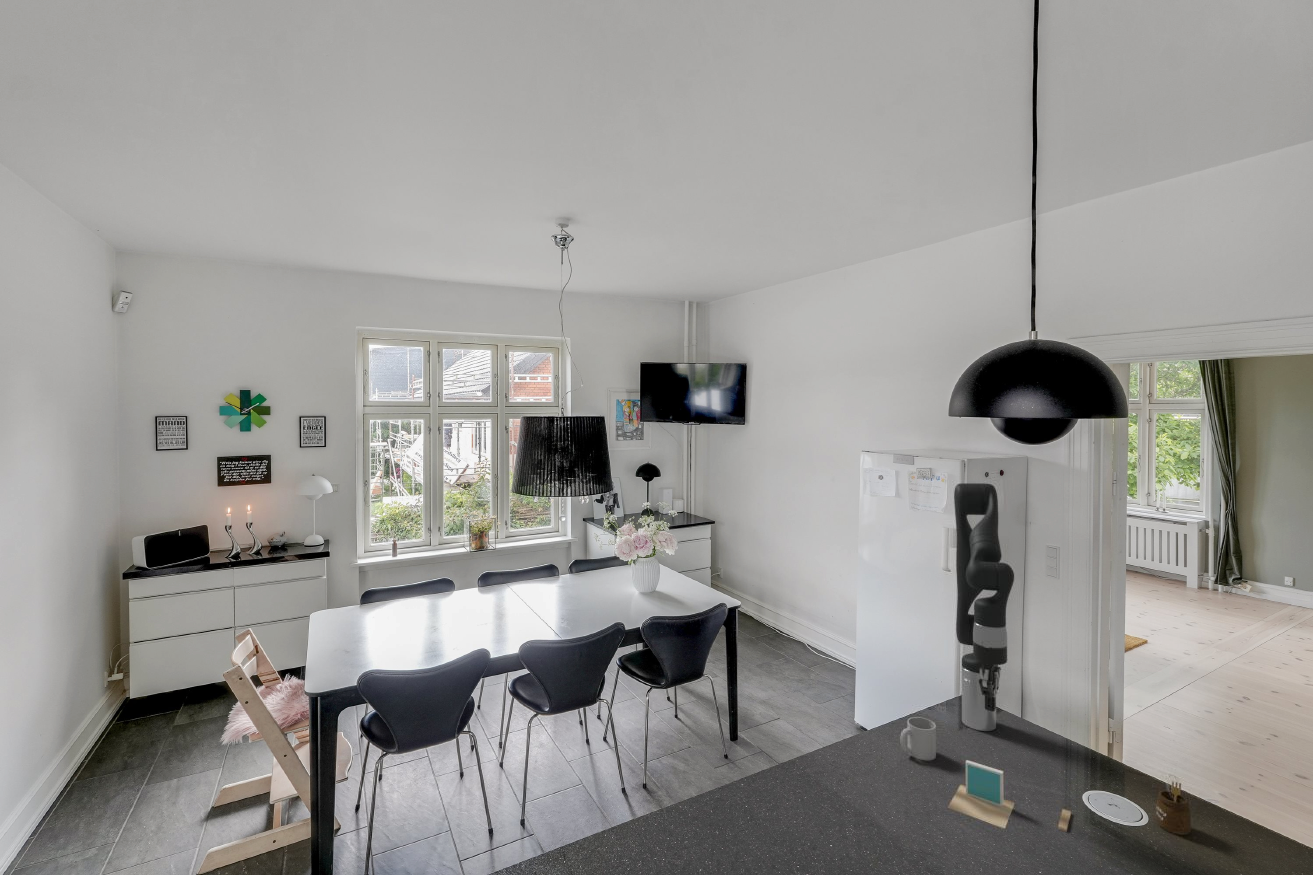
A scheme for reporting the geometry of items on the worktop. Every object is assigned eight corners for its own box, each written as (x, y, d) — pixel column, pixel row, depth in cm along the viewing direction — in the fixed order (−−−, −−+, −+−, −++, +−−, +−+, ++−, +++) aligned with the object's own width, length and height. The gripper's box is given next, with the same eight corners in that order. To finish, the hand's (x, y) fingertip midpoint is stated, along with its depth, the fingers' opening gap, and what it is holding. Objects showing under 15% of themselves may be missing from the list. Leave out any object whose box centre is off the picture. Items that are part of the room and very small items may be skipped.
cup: (941, 760, 164) (941, 728, 164) (908, 764, 163) (908, 731, 163) (925, 746, 172) (925, 715, 171) (893, 750, 170) (893, 719, 170)
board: (960, 786, 153) (960, 784, 153) (1015, 804, 145) (1015, 802, 145) (947, 809, 143) (947, 807, 143) (1004, 830, 136) (1004, 828, 136)
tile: (966, 791, 149) (966, 759, 149) (1003, 804, 144) (1003, 771, 144) (965, 794, 148) (965, 762, 148) (1002, 807, 143) (1002, 773, 143)
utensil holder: (1187, 823, 137) (1187, 771, 137) (1194, 840, 132) (1194, 786, 132) (1153, 815, 140) (1153, 764, 140) (1159, 831, 135) (1159, 778, 135)
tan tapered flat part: (1055, 811, 142) (1055, 806, 142) (1078, 818, 140) (1078, 813, 140) (1047, 840, 133) (1047, 834, 132) (1071, 849, 130) (1071, 843, 130)
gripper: (979, 631, 159) (979, 696, 159) (966, 645, 149) (967, 714, 149) (1012, 637, 154) (1012, 704, 154) (1001, 652, 144) (1001, 724, 144)
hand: (990, 709), depth 151 cm, fingers closed
